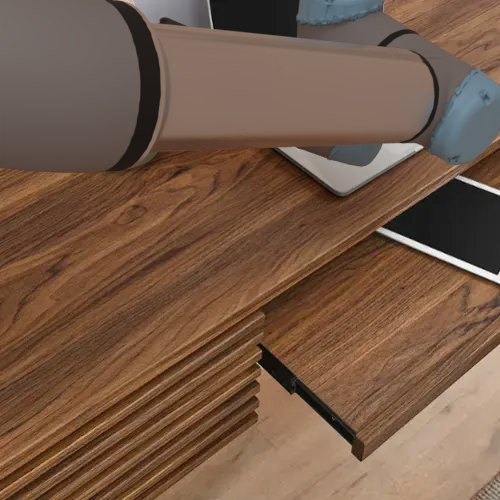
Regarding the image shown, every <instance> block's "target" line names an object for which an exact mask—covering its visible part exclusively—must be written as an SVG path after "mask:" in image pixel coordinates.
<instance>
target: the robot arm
mask: <svg viewBox="0 0 500 500" xmlns="http://www.w3.org/2000/svg"><path fill="white" fill-rule="evenodd" d="M384 4H385V0H299V3H298V12H297V14H296V18H295V20H296V24H297V25H296V26H297V27H296V28H297V29H296V37H293V36H282V35H272V34H265V33H264V34H263V33H255V32H254V33H253V32H244V31H237V30H235V31H234V30H226V29H225V30H223V29H215V28H206V27H195V26H188V25H186V24H183V23H181V22H178V21H177V20H174V19H172V18H170V17H167V16H164V17H160V18H159V22H158V23H156V22H150V20H149V19H148V17H147V16H146V15H145V14H144V13H143V11H141V9H139V7H137V6H136V5H135V6H134V5H132V4H131V3H128V2H125V1H119V0H0V169H5V170H14V171H25V172H39V173H55V174H56V173H57V174H88V173H89V174H90V173H102V172H103V173H104V172H121V171H128V170H131V169H134V168H133V167H135V166H137V165H138V164H139V163H140V162H141V161H143V159H144V158H145V157H146V156H147V155H148V153H149V152H158V153H165V152H192V151H193V152H194V151H195V152H196V151H219V150H221V151H222V150H249V149H250V150H251V149H275V148H277V149H278V148H296V149H299V150H302V151H305V152H308V153H310V154H313V155H316V156H319V157H321V158H324V159H327V161H334V162H338V163H341V164H345V165H349V166H354V167H359V168H363V167H366V166H369V165H370V164H372V162H374V160H375V159H376V157H377V156H378V154H379V153H380V151H381V149H382V147H383V145H386V144H387V145H388V144H403V145H405V144H416V145H419V146H421V147H422V148H424V149H425V150H427V152H428V154H430V155H431V156H435V157H437V158H439V159H440V160H442V161H443V162H445V163H446V164H449V165H452V166H460V165H465V164H468V163H470V162H471V161H473V160H475V159H477V158H479V156H481V155H482V154H483V153H484V152H485V151H486V150H487V149H488V148H489V147H490V146H491V144H492V143H493V142H494V141H495V140H496V138H497V137H498V135H499V133H500V83H498V82H497V81H495V80H494V79H492V78H491V77H490V76H489V75H488V74H487V73H484V71H482V68H480V67H478V66H476V67H474V66H473V65H471V64H470V63H467V62H465V60H462V59H461V58H459V57H458V56H456V55H454V54H453V53H451V52H449V51H447V50H446V49H444V48H442V47H440V46H439V45H437V44H435V43H434V42H432V41H431V40H428V39H427V38H426V37H425V36H422V35H420V34H419V33H417V32H416V31H415V30H413V29H412V28H410V27H409V26H407V25H406V24H403V23H402V22H400V21H399V20H397V19H396V18H394V17H392V16H390V15H389V14H387V13H385V12H384V11H383V6H384ZM135 168H136V167H135Z"/></svg>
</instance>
